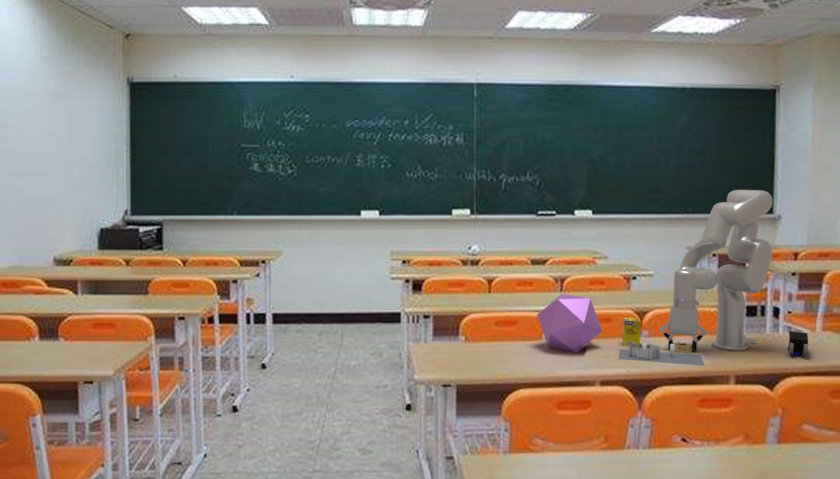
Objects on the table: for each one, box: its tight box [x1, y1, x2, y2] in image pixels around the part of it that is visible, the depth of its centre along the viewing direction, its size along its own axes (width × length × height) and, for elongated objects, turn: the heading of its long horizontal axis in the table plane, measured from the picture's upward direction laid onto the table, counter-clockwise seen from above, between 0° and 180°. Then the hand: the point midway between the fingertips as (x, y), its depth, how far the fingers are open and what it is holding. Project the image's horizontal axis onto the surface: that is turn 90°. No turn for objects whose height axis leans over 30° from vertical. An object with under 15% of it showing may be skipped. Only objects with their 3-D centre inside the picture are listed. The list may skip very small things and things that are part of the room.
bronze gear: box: [673, 341, 693, 354], centre depth 266 cm, size 7×7×4 cm
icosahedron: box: [536, 293, 603, 354], centre depth 272 cm, size 22×21×24 cm
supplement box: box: [622, 317, 642, 347], centre depth 274 cm, size 6×6×11 cm
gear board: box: [618, 342, 705, 367], centre depth 256 cm, size 28×15×6 cm, turn 73°
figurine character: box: [787, 330, 809, 359], centre depth 266 cm, size 7×8×15 cm
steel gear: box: [628, 342, 661, 360], centre depth 257 cm, size 10×10×4 cm
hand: (682, 351), depth 266 cm, fingers closed on bronze gear, 7 cm apart
